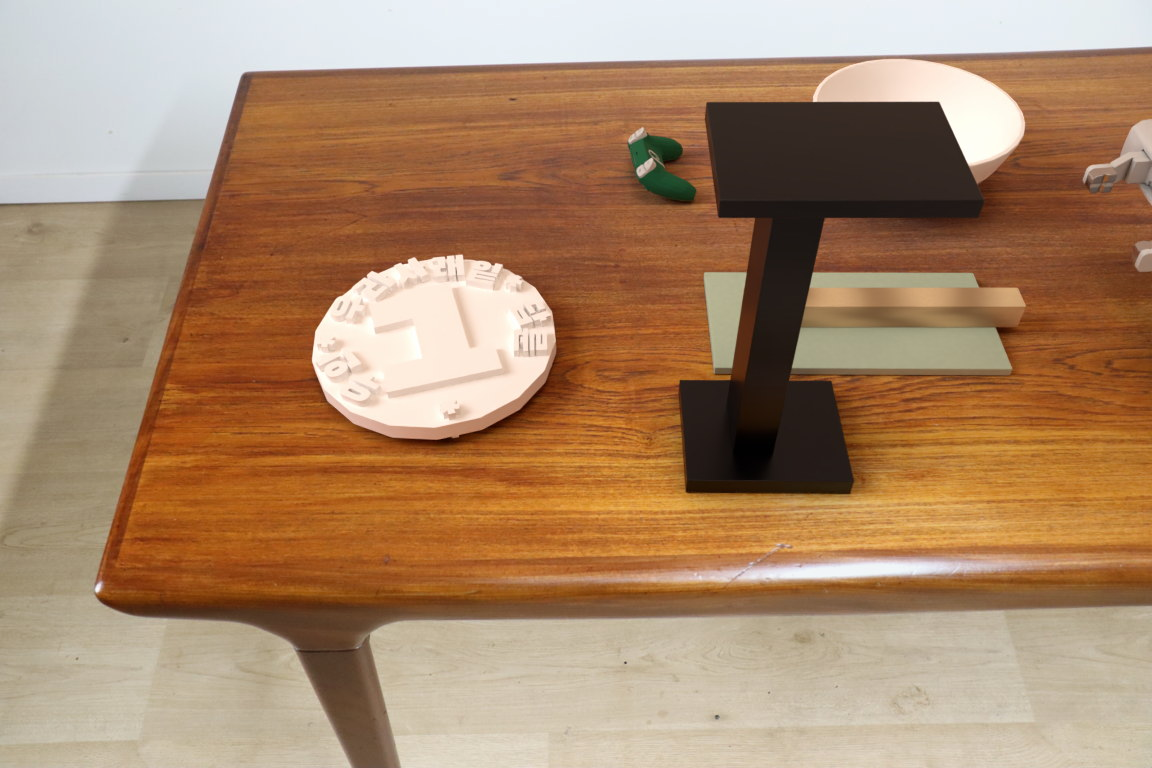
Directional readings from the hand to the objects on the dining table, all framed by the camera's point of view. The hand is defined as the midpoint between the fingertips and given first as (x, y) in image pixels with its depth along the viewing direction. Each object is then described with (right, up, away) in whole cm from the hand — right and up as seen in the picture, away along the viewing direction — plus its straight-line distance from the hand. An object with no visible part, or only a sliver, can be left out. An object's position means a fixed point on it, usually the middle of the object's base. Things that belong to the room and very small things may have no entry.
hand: (1110, 216), depth 72 cm
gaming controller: (-32, +8, +24) cm, 41 cm away
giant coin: (-52, -10, +7) cm, 54 cm away
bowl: (-8, +7, +23) cm, 26 cm away
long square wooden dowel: (-15, -7, +9) cm, 19 cm away
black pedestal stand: (-26, -17, 0) cm, 31 cm away
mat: (-17, -8, +9) cm, 21 cm away
